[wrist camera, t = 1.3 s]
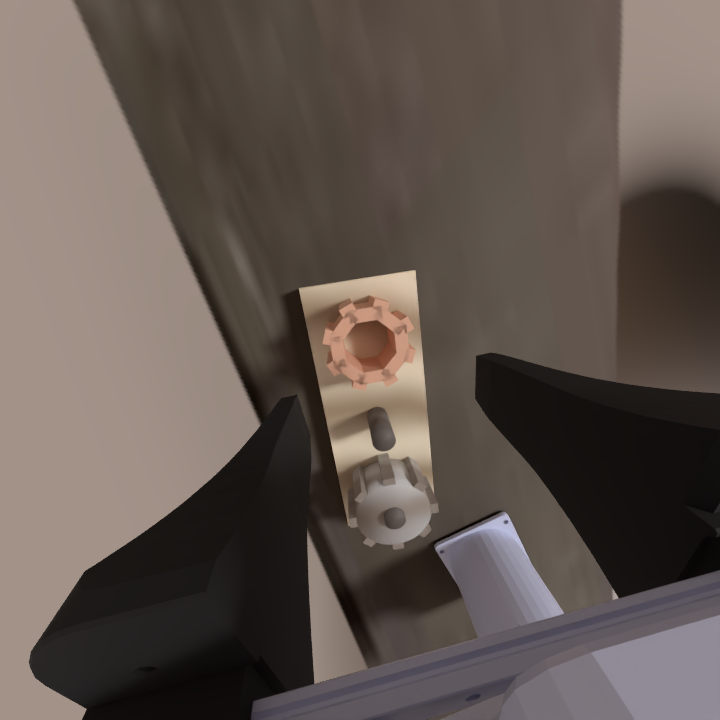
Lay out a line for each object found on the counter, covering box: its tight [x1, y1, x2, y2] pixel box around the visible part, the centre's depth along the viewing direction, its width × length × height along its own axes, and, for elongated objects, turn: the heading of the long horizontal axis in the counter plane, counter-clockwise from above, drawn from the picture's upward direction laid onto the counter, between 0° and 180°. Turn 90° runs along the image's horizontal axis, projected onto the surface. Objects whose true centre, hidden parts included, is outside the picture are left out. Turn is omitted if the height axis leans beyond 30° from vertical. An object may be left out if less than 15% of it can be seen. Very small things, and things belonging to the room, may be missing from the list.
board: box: [299, 270, 439, 550], centre depth 21 cm, size 21×8×5 cm, turn 8°
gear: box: [322, 295, 416, 391], centre depth 19 cm, size 6×6×3 cm
